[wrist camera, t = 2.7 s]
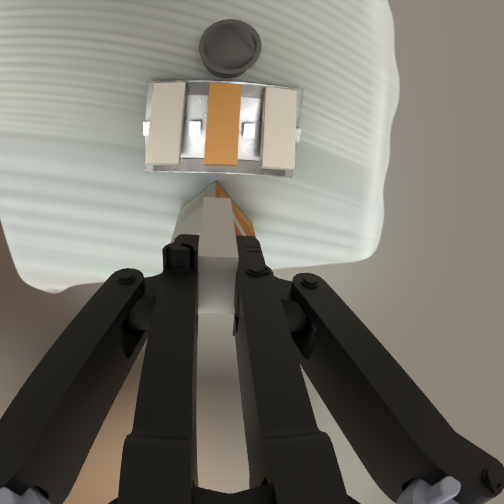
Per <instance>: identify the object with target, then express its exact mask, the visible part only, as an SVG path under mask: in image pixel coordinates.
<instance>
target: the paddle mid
mask: <svg viewBox="0 0 504 504" xmlns="http://www.w3.org/2000/svg"><path fill="white" fill-rule="evenodd" d="M241 90H242V84H226V83H210V86H209V97H208V110H207V123H206V137H205V152H204V166H228V167H236V166H237V161H238V142H239V124H240V107H241Z"/></svg>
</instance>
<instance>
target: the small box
mask: <svg viewBox="0 0 504 504" xmlns="http://www.w3.org/2000/svg"><path fill="white" fill-rule="evenodd" d="M204 197H213V198H230V197H229V196H228V195H227V193H226V192H225V191H224V190H223V189H222V187H221V186H220V185H219V184H218V182H217V181H216V182H214V183H213V184H211V185H210V186H209V187H208V188H206V189H205V190H204V191H202V192H201V193H200V194H198V195H197V196H196V197H195V198H193V199H192V200H191V201H189V202H188V203H187V204H186V205H184V206H183V207H182V208H181V209H180V212H179V215H178V219H177V222H176V226H175V230H174V233H173V237H172V241H171V243H174V239H175V238H176V237H177V236H178V235H180V234H194V235H200V227H201V218H202V209H203V200H204ZM231 205H232V213H233V220H234V227H235V235H240V236H254V237H255V232H254V228H253V225H252V223H251V222H250V221H249V220H248V219H247V217H246V216H245V215H244V214H243V213H242V212H241V210H240V209H239V208H238V207H237V206H236V205H235V203H234V202H233V201H232V200H231ZM255 238H256V237H255Z"/></svg>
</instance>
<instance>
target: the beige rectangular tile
mask: <svg viewBox="0 0 504 504" xmlns="http://www.w3.org/2000/svg"><path fill="white" fill-rule="evenodd" d="M296 104H297V90H290V89H282V88H274V87H266V88H265V90H264V92H263V103H262V125H261V147H260V168H264V169H278V170H292V169H295V142H296Z"/></svg>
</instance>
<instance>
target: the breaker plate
mask: <svg viewBox="0 0 504 504" xmlns="http://www.w3.org/2000/svg"><path fill="white" fill-rule="evenodd" d="M172 82H185V83H186V88H187V91H186V100H185V111H184V122H183V134H182V148H181V163H180V165H149V164H147V163H146V158H147V144H148V133H149V122H150V113H151V104H152V96H153V88H154V83H172ZM210 83H226V84H242V90H241V107H240V124H239V142H238V161H237V166H236V167H228V166H204V152H205V137H206V123H207V110H208V97H209V86H210ZM266 87H274V88H282V89H290V90H297V104H296V142H295V152H296V144H297V142H300V135H301V129H300V128H299V120H300V112H301V103H302V95H303V89H297V88H290V87H283V86H275V85H265V84H255V83H243V82H228V81H204V80H167V81H147V95H146V121H144V122H143V136H145V172H190V173H224V174H245V175H262V176H277V177H290V178H292V174H293V169H292V170H278V169H264V168H260V147H261V125H262V103H263V92H264V90H265V88H266Z"/></svg>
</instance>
